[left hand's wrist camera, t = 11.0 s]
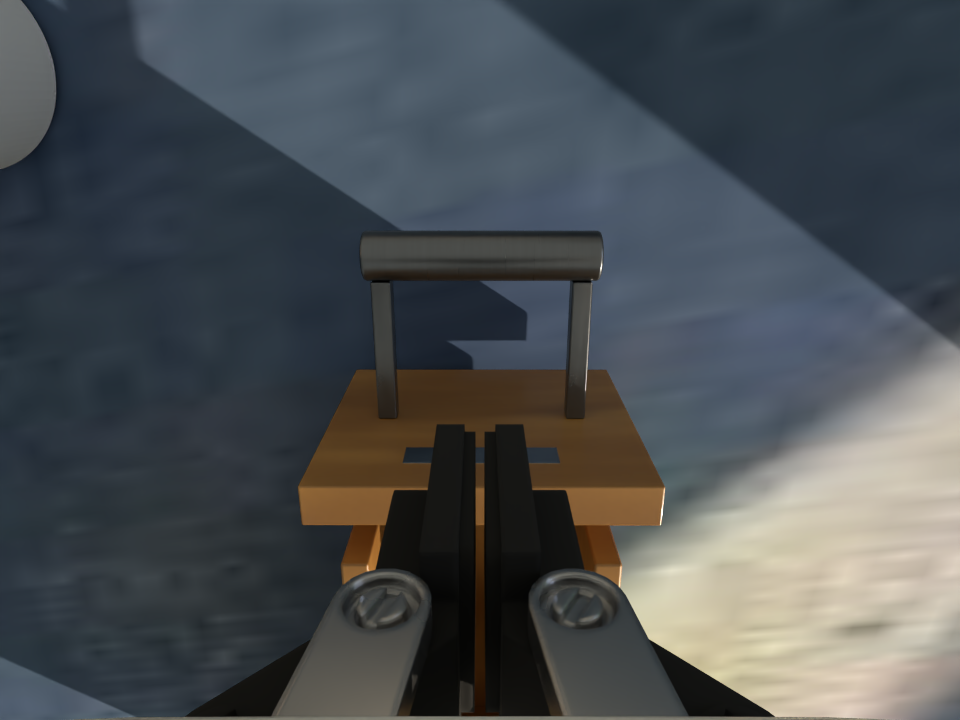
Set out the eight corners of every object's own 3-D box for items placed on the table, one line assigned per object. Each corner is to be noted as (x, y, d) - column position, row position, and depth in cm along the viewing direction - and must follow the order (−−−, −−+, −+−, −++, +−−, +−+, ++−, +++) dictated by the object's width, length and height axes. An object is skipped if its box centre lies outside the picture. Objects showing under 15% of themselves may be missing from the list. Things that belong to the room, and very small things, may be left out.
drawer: (345, 212, 23) (272, 261, 15) (617, 212, 23) (691, 261, 15) (379, 697, 31) (343, 900, 23) (583, 697, 31) (619, 901, 23)
